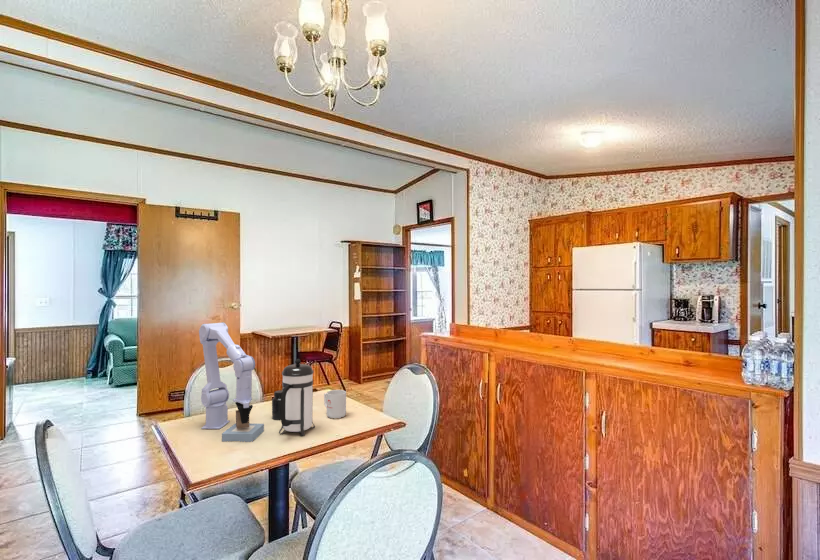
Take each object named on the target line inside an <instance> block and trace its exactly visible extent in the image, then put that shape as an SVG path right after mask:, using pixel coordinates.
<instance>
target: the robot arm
mask: <svg viewBox="0 0 820 560" xmlns="http://www.w3.org/2000/svg"><path fill="white" fill-rule="evenodd" d="M198 335H199V342H200V344H201V345H202V351H203V359H204V366H205V375H206V381H207V383H206V384H205V385H204V386H203V387H202V388H201V395H200V402H201V404H202V405H203V406H204V407H205V424H204V425H203V426H202V427H201V430H208V429H209V430H221V429H222V428H223V427H225V426H226V425H227V424H229V423H230V420H229V419H228V418H229V417H228V416H229V415H228V409H229V408H228V405H227V402H228V400H229V397H230V392H229V390H228V387H227V384H226V383H225V382H223V381H222V380H221V375H220V366H219V358H218V352H217V344H218V343H221V344H222V345H223V346H224V348H225V349H226V353H225V354H226V356H228V358H229V359H230V360H231V362H232V363H233V365H232V366H233V370H234V376H235V378H236V382H235V383H236V390H235V392H236V393H235V394H236V396H235V397H236V398H233V399H232V401H233V402H235V405H236V407H237V410H239V412H240V417H241V422H242V424H244V423H248V419H249V420H250V414H251V411H252V409H253V407H254V406H253V405H252V404H251V402H252V400H253V397H252V393H253V392H252V391H253V390H252V384H253V383H252V381H253V375H252V374H253V370H254V369H255V368H256V362H255V358H254V357H253V356H252V355H249V354H246V352H245V351H244V350H243V349H242V347H241V346H240V345H239V344H235V342H234V340H233V339H232V337H231V336H230V333H229V327H228V325H227V324H226V323H225V322H217V323H216V322H214V323H213V322H212V323H203V324H201V326H199V329H198Z"/></svg>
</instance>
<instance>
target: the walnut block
mask: <svg viewBox="0 0 820 560" xmlns="http://www.w3.org/2000/svg"><path fill="white" fill-rule="evenodd" d="M235 423H236V427H237V429H240V428H246V427H249V423H250V418H249V419H248V423H244V424H242V422H241V417H240V412H239V410H238V409H237V410H235Z"/></svg>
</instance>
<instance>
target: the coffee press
mask: <svg viewBox="0 0 820 560" xmlns="http://www.w3.org/2000/svg"><path fill="white" fill-rule="evenodd" d="M314 371H315V370H314V369H313V368H312V366H311V365H309V364H306V363H301V359H300V358H297V359H295V361H294V364H289V365H287V366H285V367H284V368H283V370H282V371H281V375H282V381H281V382H282V383H281V386H282V388H281V390H282V395H281V420H280V422H281V427H280V429H279V431H278V433H279V434H280V435H281V434H282V435H284V433H285V432H291V433H292V432H293V433H299V435H300V437H305V436H306V435H305V431H306V430H308V429H310V428H311V429H313V428H314V429H315V428H316V426H315V423H313V402H314V401H313V400H314V399H313V397H314V395H313V393H314V392H313V390H314V387H313V385H314V378H313V376H314V375H313V374H314ZM312 425H313V426H312ZM282 430H283V431H282ZM281 431H282V432H281Z"/></svg>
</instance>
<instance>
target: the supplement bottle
mask: <svg viewBox="0 0 820 560" xmlns="http://www.w3.org/2000/svg"><path fill="white" fill-rule="evenodd" d="M273 394H274V395H273V396H274V397H273V398H272V400H271V417H272V419H273V420H275V421H281V395H282V389H281V390H275V391H274V392H273Z"/></svg>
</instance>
